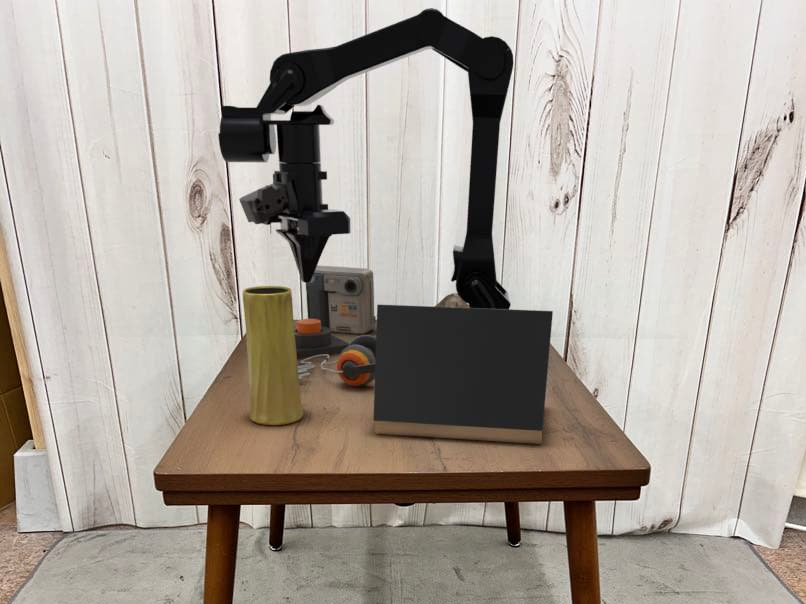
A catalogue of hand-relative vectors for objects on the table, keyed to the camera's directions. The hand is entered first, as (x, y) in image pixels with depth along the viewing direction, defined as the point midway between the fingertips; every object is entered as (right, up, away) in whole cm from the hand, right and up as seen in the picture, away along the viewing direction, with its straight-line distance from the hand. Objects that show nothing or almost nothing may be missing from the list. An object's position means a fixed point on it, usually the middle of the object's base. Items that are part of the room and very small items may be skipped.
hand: (306, 281), depth 113 cm
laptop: (+21, -24, -24) cm, 40 cm away
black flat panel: (+20, -20, -32) cm, 42 cm away
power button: (0, -7, +4) cm, 7 cm away
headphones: (+7, -16, -9) cm, 20 cm away
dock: (0, -9, +5) cm, 10 cm away
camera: (+4, -3, +17) cm, 17 cm away
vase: (0, -24, -23) cm, 33 cm away
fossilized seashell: (+22, -3, +17) cm, 28 cm away
